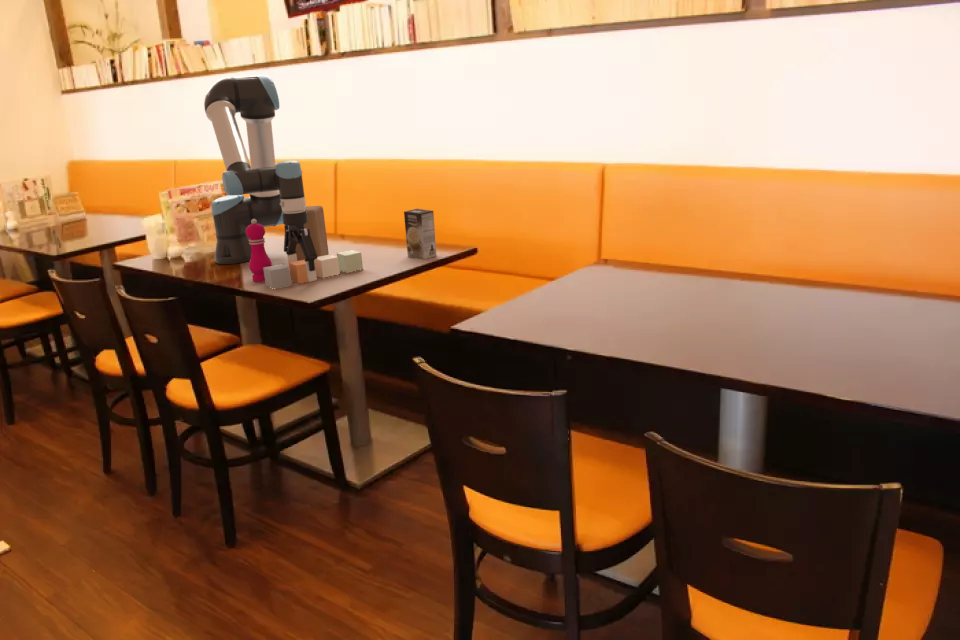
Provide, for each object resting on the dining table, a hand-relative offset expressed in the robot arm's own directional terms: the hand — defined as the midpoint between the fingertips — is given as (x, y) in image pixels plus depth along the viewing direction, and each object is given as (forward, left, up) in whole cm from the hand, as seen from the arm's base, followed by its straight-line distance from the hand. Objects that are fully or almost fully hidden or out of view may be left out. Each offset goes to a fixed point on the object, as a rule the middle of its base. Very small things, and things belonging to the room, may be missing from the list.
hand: (303, 277), depth 246 cm
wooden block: (-17, +11, -1) cm, 20 cm away
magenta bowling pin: (-12, -9, -1) cm, 15 cm away
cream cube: (0, +9, -1) cm, 9 cm away
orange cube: (0, 0, -1) cm, 1 cm away
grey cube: (0, -8, -1) cm, 9 cm away
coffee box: (+2, +44, -1) cm, 44 cm away
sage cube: (0, +17, -1) cm, 17 cm away
